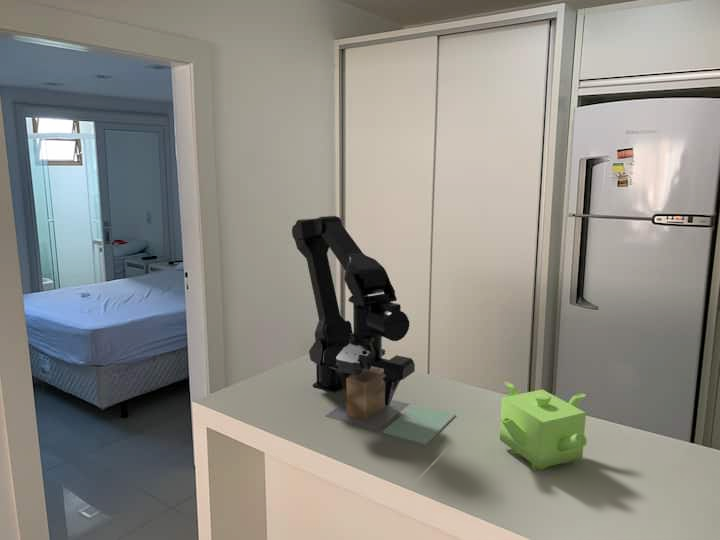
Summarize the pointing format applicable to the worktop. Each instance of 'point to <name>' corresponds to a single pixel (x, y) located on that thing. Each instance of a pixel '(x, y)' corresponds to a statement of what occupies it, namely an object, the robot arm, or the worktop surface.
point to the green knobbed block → (542, 427)
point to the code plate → (372, 422)
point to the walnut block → (365, 393)
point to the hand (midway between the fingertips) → (367, 400)
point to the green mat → (419, 424)
